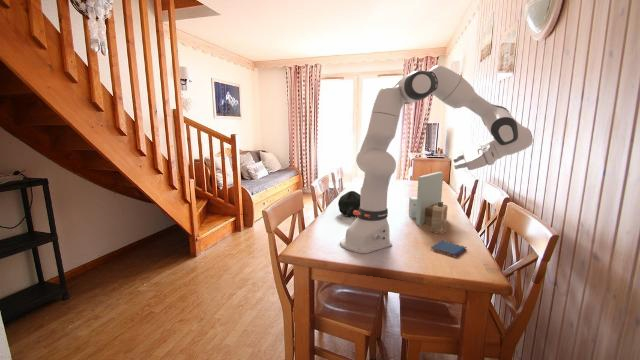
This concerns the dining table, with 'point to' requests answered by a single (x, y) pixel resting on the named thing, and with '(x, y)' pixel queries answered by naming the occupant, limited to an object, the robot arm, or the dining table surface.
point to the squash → (349, 203)
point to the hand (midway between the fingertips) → (454, 164)
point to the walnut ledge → (429, 214)
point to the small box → (412, 207)
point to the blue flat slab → (448, 248)
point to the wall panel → (428, 194)
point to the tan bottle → (439, 218)
